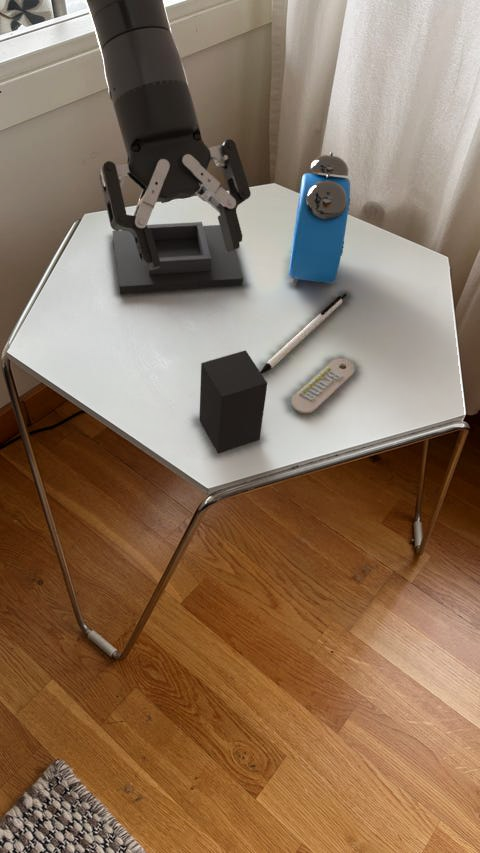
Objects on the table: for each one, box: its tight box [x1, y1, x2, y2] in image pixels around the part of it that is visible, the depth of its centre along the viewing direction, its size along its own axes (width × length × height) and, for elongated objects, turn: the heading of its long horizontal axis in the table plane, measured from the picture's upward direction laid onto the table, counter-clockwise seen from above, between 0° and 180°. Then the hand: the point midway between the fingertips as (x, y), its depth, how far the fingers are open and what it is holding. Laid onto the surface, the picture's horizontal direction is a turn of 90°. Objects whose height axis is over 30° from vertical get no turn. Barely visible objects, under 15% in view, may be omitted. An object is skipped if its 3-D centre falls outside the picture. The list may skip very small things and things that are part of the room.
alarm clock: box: [288, 152, 351, 286], centre depth 90 cm, size 13×6×15 cm, turn 173°
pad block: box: [198, 350, 268, 454], centre depth 74 cm, size 5×5×9 cm
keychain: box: [290, 357, 355, 414], centre depth 82 cm, size 10×1×3 cm
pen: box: [260, 293, 348, 375], centre depth 88 cm, size 1×19×1 cm, turn 142°
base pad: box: [112, 221, 244, 295], centre depth 94 cm, size 16×12×3 cm
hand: (195, 258), depth 71 cm, fingers open, 8 cm apart
